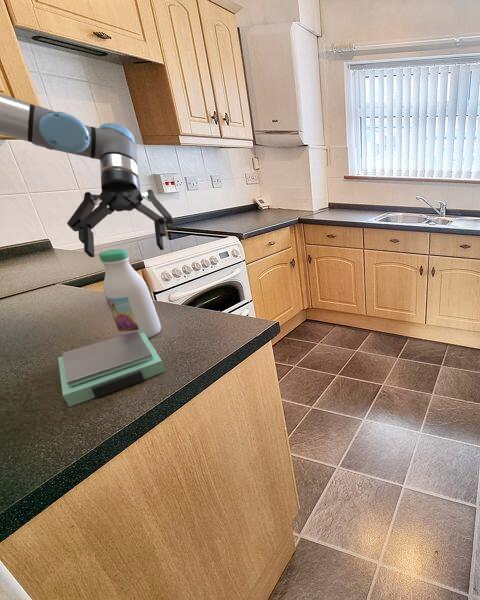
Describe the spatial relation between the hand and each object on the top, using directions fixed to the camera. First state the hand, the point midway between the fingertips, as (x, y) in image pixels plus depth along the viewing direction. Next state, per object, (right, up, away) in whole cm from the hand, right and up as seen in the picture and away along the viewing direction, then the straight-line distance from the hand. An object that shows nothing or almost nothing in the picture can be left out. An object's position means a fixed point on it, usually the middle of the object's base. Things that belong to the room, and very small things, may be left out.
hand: (126, 250), depth 79 cm
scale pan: (+8, -23, -14) cm, 28 cm away
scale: (+8, -25, -13) cm, 30 cm away
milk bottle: (+4, -20, 0) cm, 20 cm away
